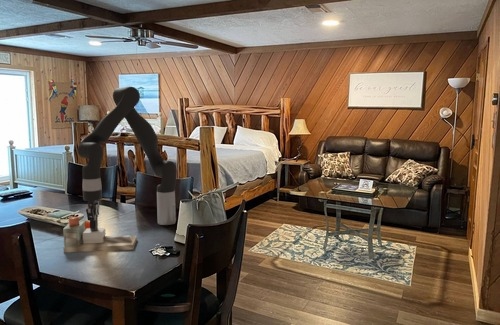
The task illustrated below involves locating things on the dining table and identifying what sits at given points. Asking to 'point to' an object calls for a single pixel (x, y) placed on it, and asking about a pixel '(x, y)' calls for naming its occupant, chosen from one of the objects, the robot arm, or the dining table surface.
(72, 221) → the button
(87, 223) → the clementine
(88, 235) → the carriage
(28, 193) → the dining table surface
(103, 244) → the rail base
